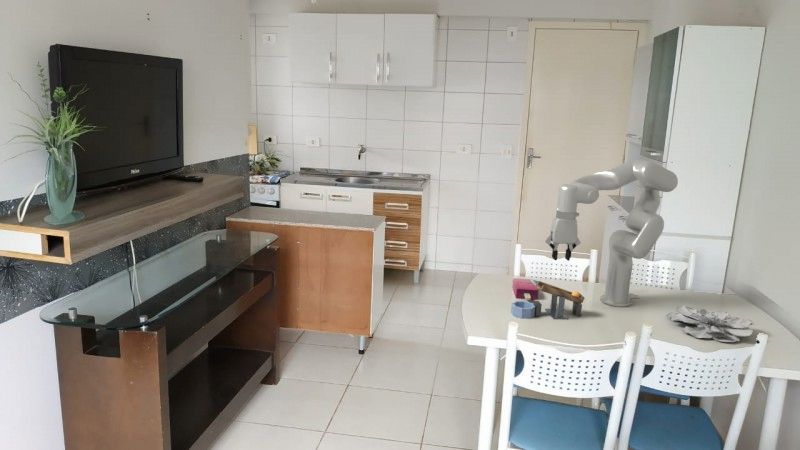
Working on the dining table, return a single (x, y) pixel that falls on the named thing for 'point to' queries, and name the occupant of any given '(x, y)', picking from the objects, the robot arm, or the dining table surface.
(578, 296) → the ball
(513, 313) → the cup
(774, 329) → the dining table surface
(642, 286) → the dining table surface
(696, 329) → the decorative wall flower
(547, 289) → the lever
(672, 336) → the dining table surface
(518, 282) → the popsicle
